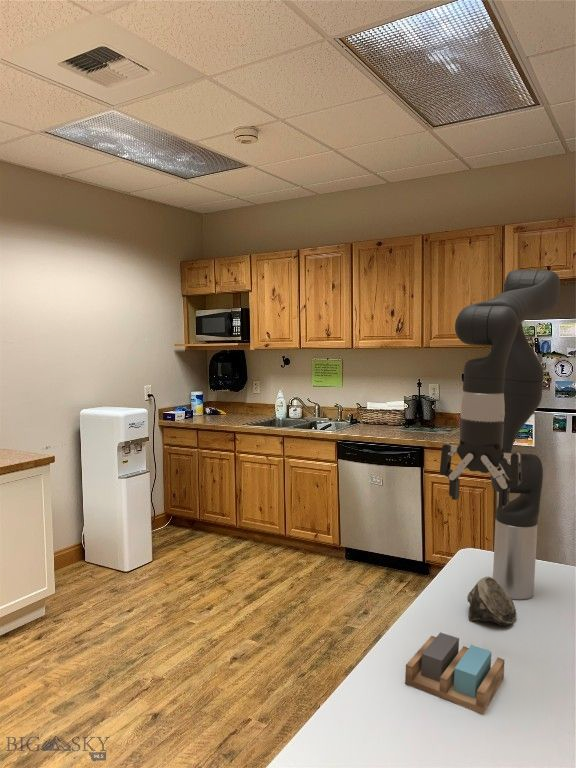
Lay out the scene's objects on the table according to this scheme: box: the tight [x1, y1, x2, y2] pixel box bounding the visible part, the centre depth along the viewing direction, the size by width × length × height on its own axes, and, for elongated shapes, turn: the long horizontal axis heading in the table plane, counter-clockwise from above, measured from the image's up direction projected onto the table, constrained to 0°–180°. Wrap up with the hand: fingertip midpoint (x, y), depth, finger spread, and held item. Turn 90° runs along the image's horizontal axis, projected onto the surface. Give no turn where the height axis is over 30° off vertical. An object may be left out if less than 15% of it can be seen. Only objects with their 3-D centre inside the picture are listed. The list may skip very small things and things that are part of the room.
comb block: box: [404, 635, 505, 715], centre depth 103 cm, size 12×14×4 cm
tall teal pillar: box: [454, 644, 492, 698], centre depth 101 cm, size 9×4×4 cm, turn 145°
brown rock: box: [466, 576, 517, 627], centre depth 126 cm, size 11×9×10 cm
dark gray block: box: [421, 632, 460, 682], centre depth 105 cm, size 9×4×4 cm, turn 145°
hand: (478, 503), depth 107 cm, fingers open, 8 cm apart
